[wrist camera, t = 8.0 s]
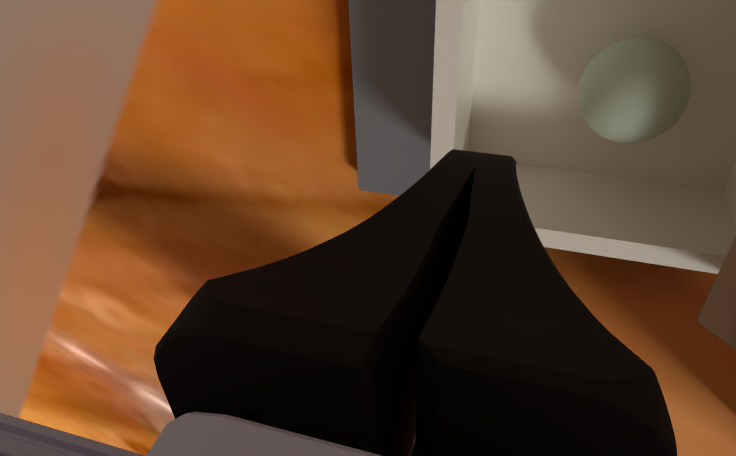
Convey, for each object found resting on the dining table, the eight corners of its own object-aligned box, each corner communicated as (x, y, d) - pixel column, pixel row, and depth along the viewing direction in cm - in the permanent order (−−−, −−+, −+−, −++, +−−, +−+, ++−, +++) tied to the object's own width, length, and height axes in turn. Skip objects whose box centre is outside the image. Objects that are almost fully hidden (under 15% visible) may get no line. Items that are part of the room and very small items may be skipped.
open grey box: (452, 161, 23) (427, 228, 19) (471, -137, 17) (440, -114, 13) (734, 196, 20) (763, 280, 17) (878, -141, 14) (970, -114, 11)
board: (365, 177, 26) (358, 189, 25) (349, -178, 18) (338, -175, 17) (831, 241, 21) (840, 258, 20) (1090, -198, 13) (1120, -197, 12)
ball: (571, 110, 19) (568, 155, 17) (588, 20, 17) (588, 57, 15) (668, 120, 18) (678, 168, 16) (697, 27, 17) (714, 66, 14)
